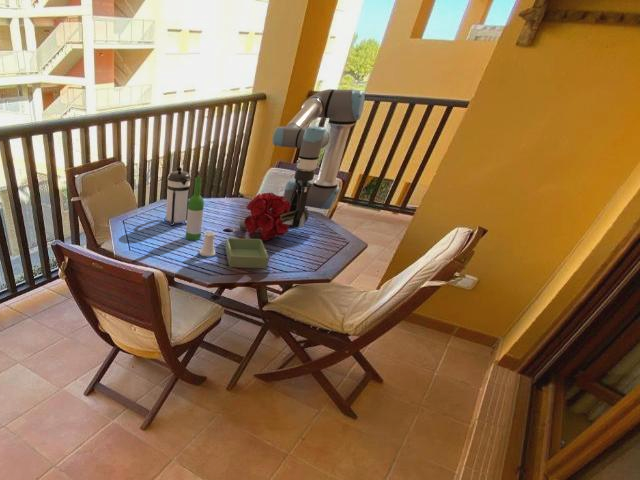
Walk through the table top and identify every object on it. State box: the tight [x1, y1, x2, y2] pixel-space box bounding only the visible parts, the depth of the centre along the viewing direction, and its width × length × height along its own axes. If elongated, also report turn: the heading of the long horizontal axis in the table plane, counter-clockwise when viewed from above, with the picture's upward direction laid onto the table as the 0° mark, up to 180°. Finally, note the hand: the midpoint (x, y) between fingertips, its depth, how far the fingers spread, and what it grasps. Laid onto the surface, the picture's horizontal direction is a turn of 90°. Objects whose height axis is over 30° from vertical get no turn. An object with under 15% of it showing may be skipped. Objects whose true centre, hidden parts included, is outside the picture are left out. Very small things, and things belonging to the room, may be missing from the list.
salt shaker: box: [199, 231, 216, 258], centre depth 184 cm, size 8×8×10 cm
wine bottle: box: [185, 177, 205, 241], centre depth 195 cm, size 8×8×30 cm
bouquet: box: [238, 192, 291, 242], centre depth 199 cm, size 22×24×30 cm
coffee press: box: [163, 166, 192, 227], centre depth 216 cm, size 17×16×30 cm
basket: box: [224, 237, 270, 269], centre depth 182 cm, size 22×17×5 cm
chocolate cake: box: [280, 206, 310, 228], centre depth 172 cm, size 10×7×12 cm
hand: (292, 222), depth 173 cm, fingers closed on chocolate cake, 9 cm apart
